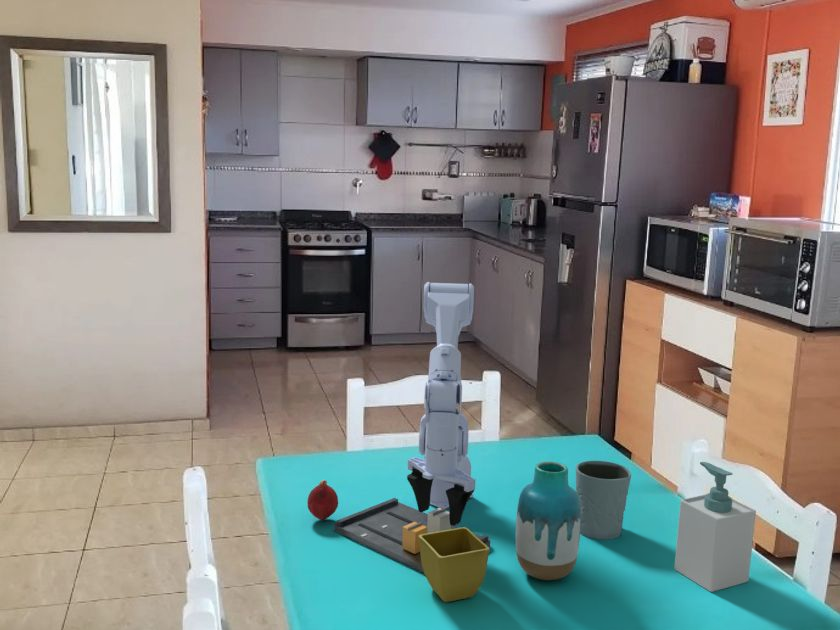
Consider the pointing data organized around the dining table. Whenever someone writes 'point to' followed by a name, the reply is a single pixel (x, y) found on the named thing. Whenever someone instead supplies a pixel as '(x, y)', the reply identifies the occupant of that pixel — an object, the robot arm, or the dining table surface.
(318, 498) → the onion
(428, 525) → the fader
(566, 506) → the vase
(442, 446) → the robot arm
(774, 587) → the dining table surface
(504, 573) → the dining table surface
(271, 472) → the dining table surface
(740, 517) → the soap bottle
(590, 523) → the grey textured cup
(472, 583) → the flower pot
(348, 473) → the dining table surface
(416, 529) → the fader
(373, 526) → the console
